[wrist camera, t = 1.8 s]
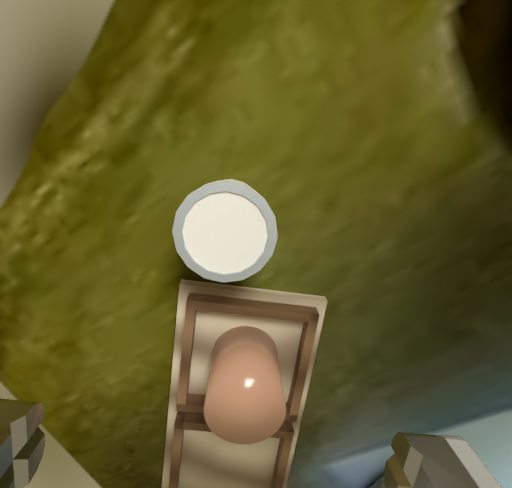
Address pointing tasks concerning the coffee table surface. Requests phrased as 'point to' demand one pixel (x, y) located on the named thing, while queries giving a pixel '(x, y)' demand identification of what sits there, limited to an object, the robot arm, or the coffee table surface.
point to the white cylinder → (225, 231)
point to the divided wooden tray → (197, 372)
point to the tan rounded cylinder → (244, 387)
